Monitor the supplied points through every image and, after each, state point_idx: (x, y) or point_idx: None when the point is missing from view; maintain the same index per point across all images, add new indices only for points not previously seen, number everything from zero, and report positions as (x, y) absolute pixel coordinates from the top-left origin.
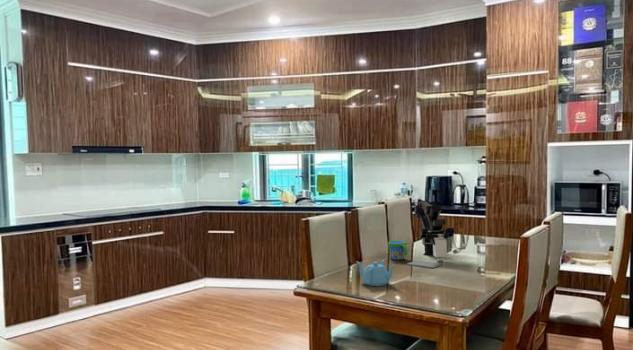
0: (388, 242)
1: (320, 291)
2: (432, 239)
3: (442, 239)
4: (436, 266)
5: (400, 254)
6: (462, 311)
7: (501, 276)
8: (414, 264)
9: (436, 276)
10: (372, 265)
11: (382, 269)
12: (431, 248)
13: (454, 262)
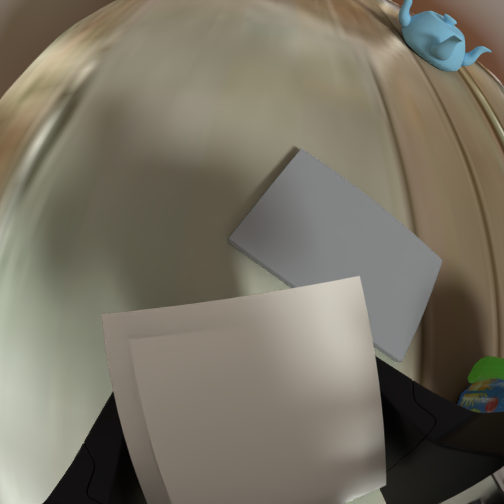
0: None
1: None
2: (399, 379)
3: (195, 306)
4: (274, 182)
5: (489, 383)
6: None
7: (50, 58)
8: (406, 229)
9: (281, 46)
10: (454, 28)
11: (423, 12)
12: None
13: None
